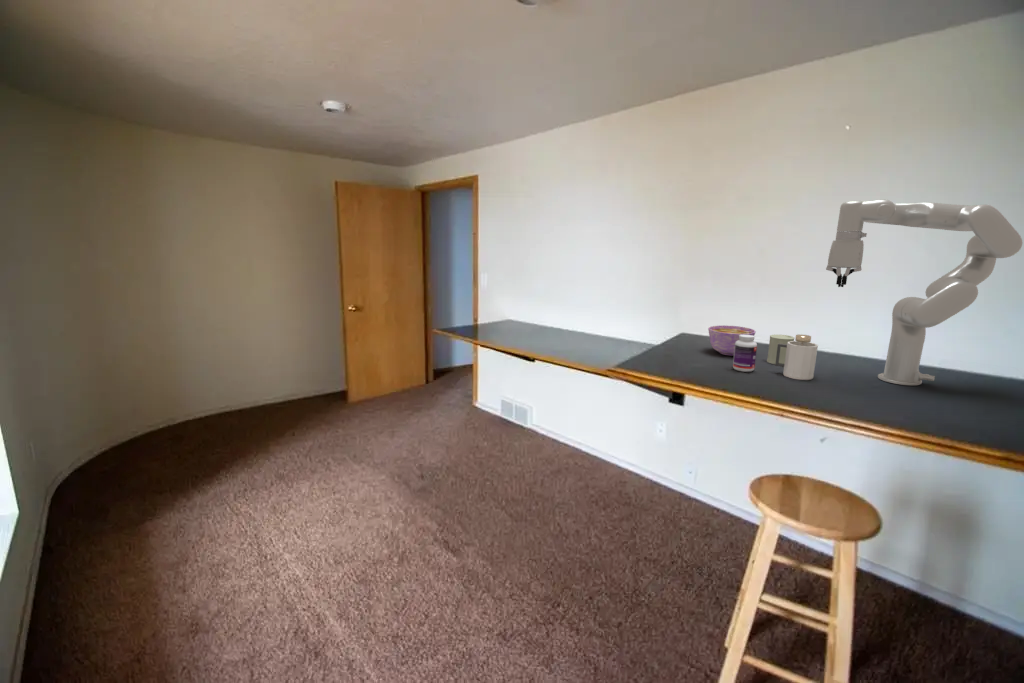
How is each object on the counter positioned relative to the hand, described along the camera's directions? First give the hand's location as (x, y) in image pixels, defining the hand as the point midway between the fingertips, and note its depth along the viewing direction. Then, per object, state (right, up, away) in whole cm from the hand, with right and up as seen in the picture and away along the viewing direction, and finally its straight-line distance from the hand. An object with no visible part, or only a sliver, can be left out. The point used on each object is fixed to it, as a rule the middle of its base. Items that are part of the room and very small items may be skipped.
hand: (840, 286), depth 168 cm
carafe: (-12, -34, +9) cm, 37 cm away
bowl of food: (-21, -27, +43) cm, 55 cm away
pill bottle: (-28, -33, +17) cm, 46 cm away
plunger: (-11, -32, +7) cm, 35 cm away
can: (-7, -30, +27) cm, 41 cm away
